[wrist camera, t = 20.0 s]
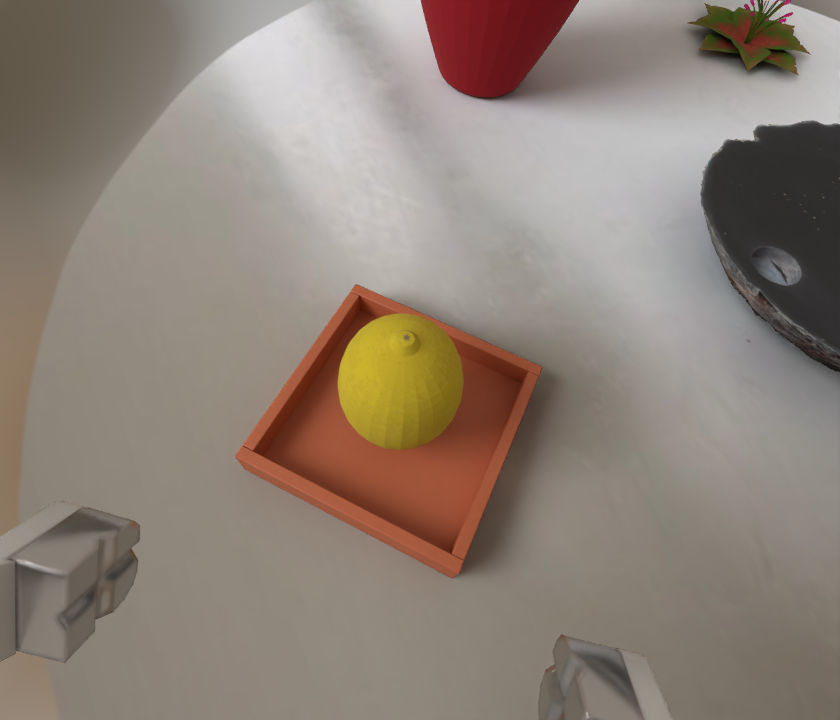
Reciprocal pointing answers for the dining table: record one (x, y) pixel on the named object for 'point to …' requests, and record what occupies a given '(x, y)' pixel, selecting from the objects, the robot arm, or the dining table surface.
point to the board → (782, 229)
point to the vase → (491, 40)
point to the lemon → (400, 381)
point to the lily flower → (751, 35)
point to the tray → (386, 468)
